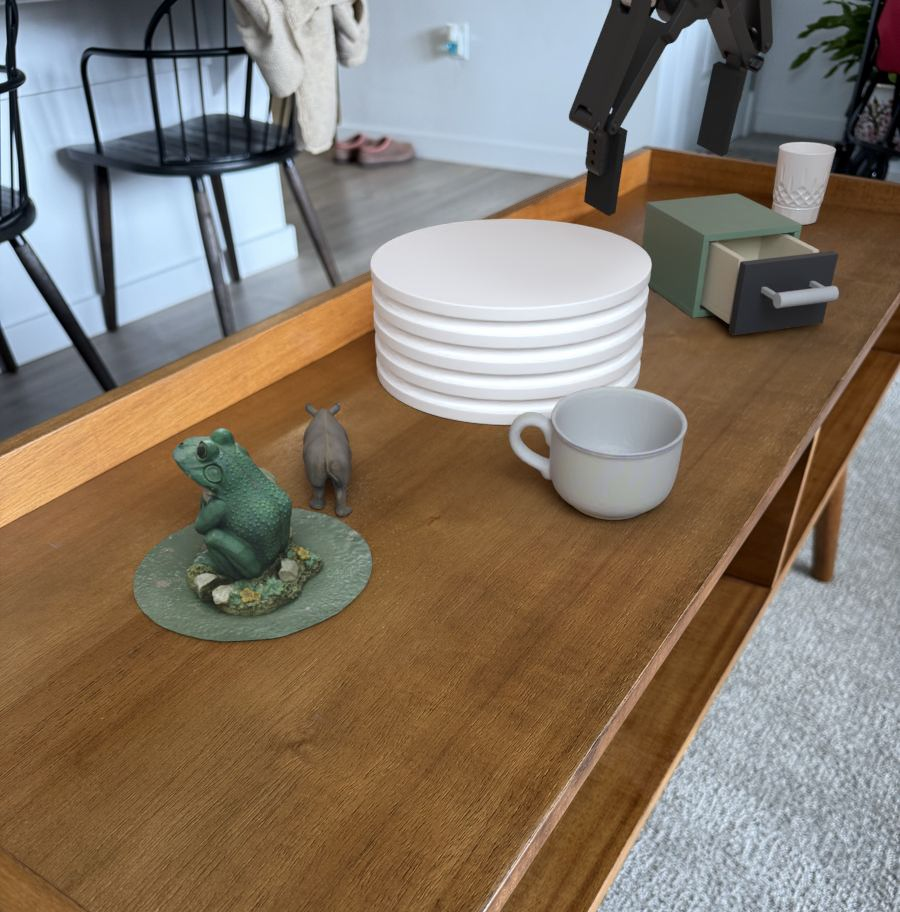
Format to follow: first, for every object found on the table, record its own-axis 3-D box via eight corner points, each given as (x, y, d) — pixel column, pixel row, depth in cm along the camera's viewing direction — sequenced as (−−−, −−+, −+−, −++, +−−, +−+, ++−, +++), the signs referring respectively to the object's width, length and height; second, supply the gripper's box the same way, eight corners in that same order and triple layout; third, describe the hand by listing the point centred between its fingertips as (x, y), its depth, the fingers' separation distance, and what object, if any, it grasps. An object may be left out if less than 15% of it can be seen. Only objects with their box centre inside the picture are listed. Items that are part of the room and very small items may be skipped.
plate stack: (434, 307, 118) (432, 209, 111) (662, 335, 110) (675, 232, 103) (331, 400, 97) (321, 287, 90) (604, 444, 89) (615, 323, 82)
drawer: (845, 337, 106) (863, 265, 102) (754, 349, 104) (767, 277, 99) (759, 285, 120) (771, 220, 115) (677, 295, 117) (685, 229, 113)
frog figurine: (221, 491, 83) (199, 364, 76) (410, 534, 77) (404, 401, 70) (82, 607, 70) (39, 466, 63) (297, 670, 64) (276, 522, 57)
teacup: (683, 480, 83) (696, 395, 79) (663, 547, 75) (676, 455, 70) (528, 457, 87) (531, 374, 82) (493, 518, 79) (494, 429, 74)
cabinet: (786, 306, 117) (802, 224, 111) (692, 318, 114) (704, 235, 108) (725, 269, 128) (737, 193, 122) (638, 279, 125) (646, 202, 119)
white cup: (827, 226, 143) (843, 153, 137) (774, 226, 143) (787, 154, 137) (812, 211, 149) (826, 141, 143) (761, 212, 149) (773, 142, 143)
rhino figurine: (347, 440, 90) (342, 380, 87) (359, 517, 79) (353, 452, 76) (303, 444, 90) (296, 383, 86) (309, 521, 79) (301, 456, 75)
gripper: (787, -192, 68) (720, 110, 85) (532, -110, 58) (514, 213, 75) (878, -166, 65) (789, 143, 82) (623, -75, 55) (583, 255, 72)
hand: (657, 177), depth 78 cm, fingers open, 13 cm apart
